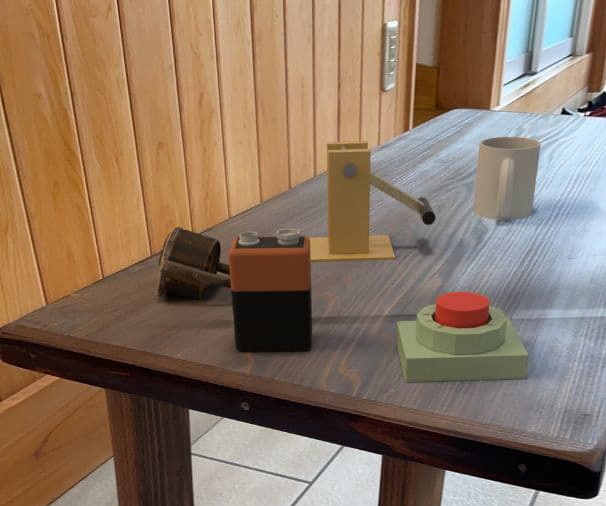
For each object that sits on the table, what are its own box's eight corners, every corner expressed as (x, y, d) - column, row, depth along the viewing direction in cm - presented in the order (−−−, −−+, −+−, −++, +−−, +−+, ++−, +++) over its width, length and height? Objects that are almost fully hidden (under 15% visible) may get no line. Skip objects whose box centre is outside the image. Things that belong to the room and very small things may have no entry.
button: (482, 310, 74) (484, 290, 72) (492, 330, 70) (494, 309, 69) (431, 312, 74) (432, 292, 73) (438, 332, 70) (440, 311, 69)
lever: (421, 216, 98) (433, 197, 96) (428, 231, 93) (440, 211, 92) (330, 161, 94) (341, 141, 93) (332, 174, 89) (344, 153, 88)
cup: (530, 211, 110) (540, 137, 105) (531, 234, 102) (541, 155, 97) (474, 210, 112) (480, 136, 106) (470, 233, 104) (477, 154, 98)
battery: (310, 352, 76) (308, 239, 70) (235, 353, 76) (226, 240, 71) (312, 333, 80) (310, 224, 74) (240, 334, 80) (232, 225, 74)
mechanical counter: (192, 224, 91) (129, 227, 83) (295, 227, 85) (237, 230, 77) (195, 294, 93) (134, 303, 86) (295, 301, 87) (239, 312, 80)
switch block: (505, 340, 77) (511, 297, 75) (525, 379, 71) (531, 333, 68) (395, 344, 77) (397, 301, 75) (405, 382, 71) (407, 337, 68)
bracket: (388, 245, 101) (391, 137, 94) (394, 267, 94) (399, 152, 87) (303, 248, 101) (300, 140, 94) (304, 270, 94) (301, 156, 87)
